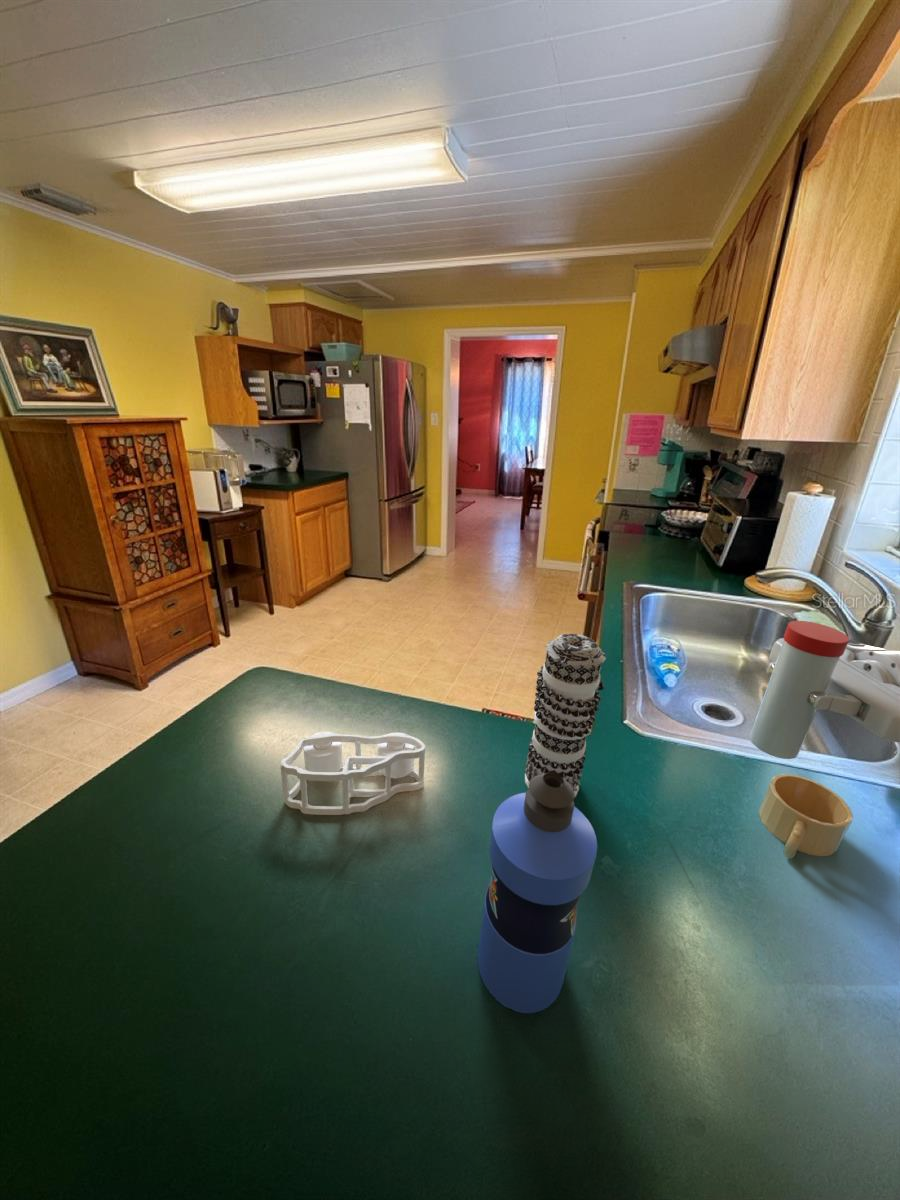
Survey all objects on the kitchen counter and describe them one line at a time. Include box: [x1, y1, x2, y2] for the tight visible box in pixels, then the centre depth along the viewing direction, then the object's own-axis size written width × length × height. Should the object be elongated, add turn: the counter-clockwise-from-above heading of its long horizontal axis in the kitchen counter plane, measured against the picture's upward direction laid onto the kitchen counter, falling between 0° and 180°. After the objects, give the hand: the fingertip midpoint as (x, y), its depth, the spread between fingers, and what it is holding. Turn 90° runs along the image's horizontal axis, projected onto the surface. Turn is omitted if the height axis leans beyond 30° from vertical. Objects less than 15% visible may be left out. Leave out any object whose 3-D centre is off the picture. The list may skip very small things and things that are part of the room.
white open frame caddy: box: [280, 731, 426, 816], centre depth 70 cm, size 20×11×7 cm, turn 93°
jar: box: [748, 620, 850, 760], centre depth 63 cm, size 6×6×18 cm
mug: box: [758, 773, 854, 859], centre depth 66 cm, size 12×9×6 cm
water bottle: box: [477, 772, 598, 1014], centre depth 45 cm, size 9×9×25 cm
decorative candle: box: [524, 633, 607, 799], centre depth 69 cm, size 9×9×25 cm
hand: (790, 684), depth 63 cm, fingers closed on jar, 6 cm apart
